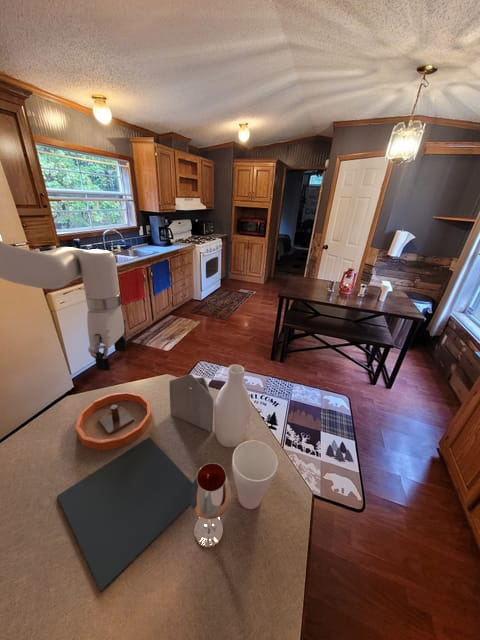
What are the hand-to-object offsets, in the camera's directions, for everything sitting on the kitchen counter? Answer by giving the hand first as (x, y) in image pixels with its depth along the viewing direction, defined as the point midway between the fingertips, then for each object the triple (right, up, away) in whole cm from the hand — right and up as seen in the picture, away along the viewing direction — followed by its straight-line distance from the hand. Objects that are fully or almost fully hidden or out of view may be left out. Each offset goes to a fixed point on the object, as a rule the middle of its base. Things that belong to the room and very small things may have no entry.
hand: (112, 359), depth 70 cm
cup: (+38, -34, -7) cm, 51 cm away
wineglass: (+28, -36, -14) cm, 48 cm away
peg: (-5, -22, +12) cm, 25 cm away
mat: (+9, -32, -9) cm, 34 cm away
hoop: (-5, -22, +12) cm, 25 cm away
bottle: (+32, -26, +10) cm, 43 cm away
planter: (+20, -22, +17) cm, 34 cm away
